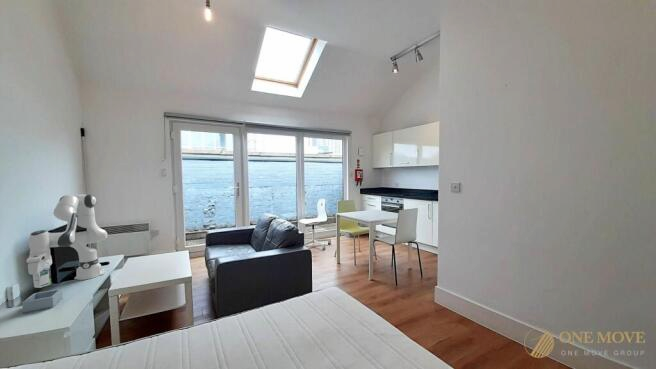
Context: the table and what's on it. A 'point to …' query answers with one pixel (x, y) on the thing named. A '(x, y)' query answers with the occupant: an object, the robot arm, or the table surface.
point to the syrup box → (43, 277)
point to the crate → (42, 300)
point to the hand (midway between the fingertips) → (41, 276)
